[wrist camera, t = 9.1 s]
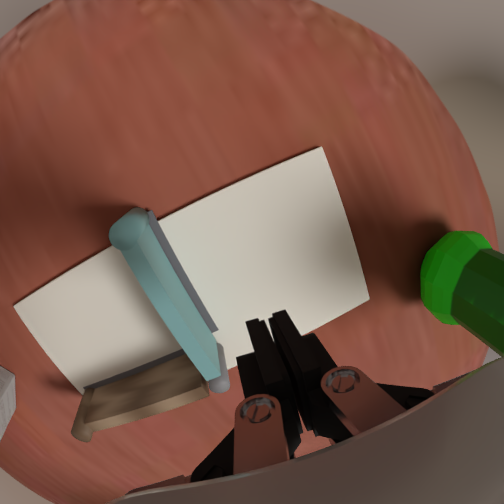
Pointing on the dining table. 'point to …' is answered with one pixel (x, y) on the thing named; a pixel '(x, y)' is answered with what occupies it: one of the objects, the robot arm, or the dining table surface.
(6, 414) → the supplement box
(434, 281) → the plastic bottle
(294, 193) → the card
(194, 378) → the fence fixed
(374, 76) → the dining table surface
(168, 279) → the teal bar
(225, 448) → the robot arm
